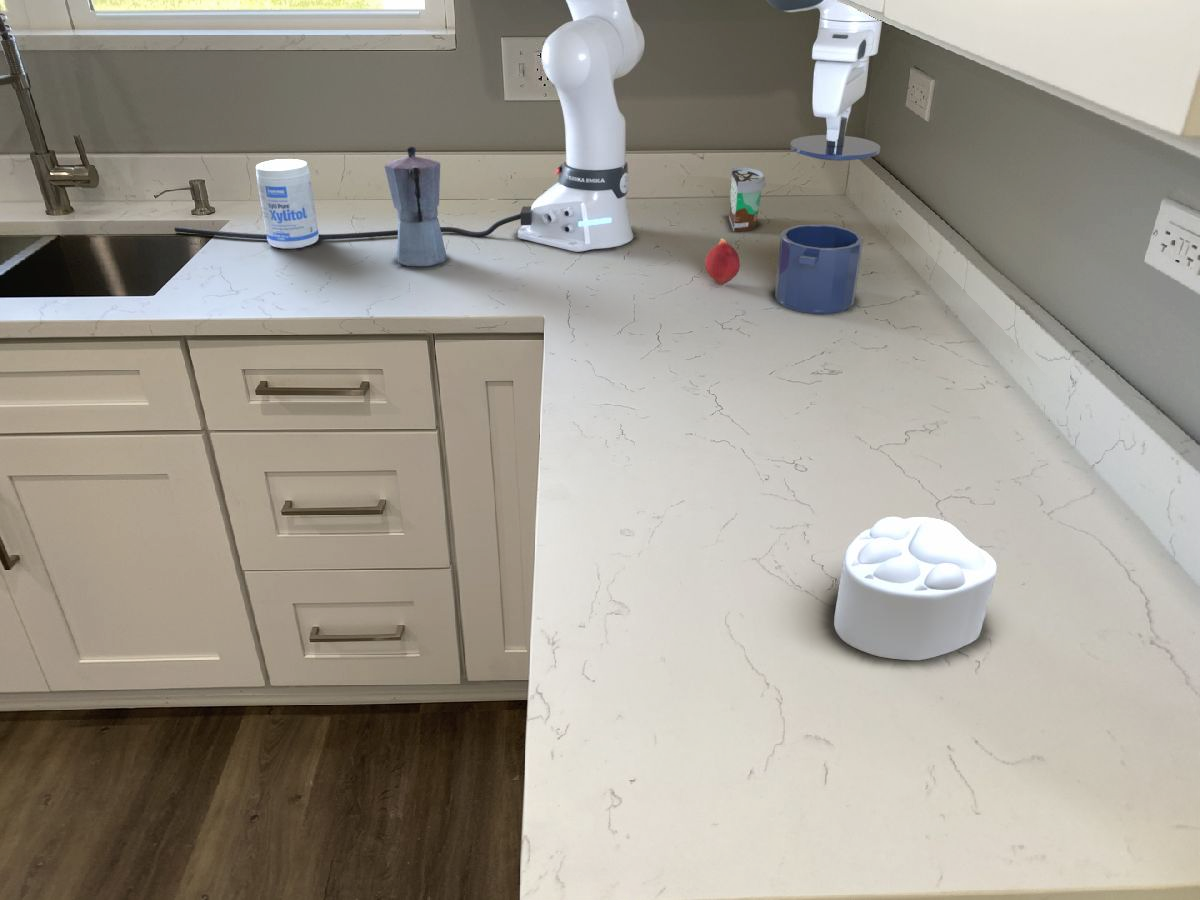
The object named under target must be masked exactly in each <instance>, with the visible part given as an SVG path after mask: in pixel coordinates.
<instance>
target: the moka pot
mask: <svg viewBox="0 0 1200 900" xmlns="http://www.w3.org/2000/svg"><path fill="white" fill-rule="evenodd" d="M406 151H407V155H408V156H404V157H401V158H396V159H392V160H391V161H389V162H386V163H385V164H384V170H385V175H386V179H387V183H388V187H389V188H388V189H389V191H390V195H391V200H392V203H393V208H394V209H396V216H397V219H398V220H397V230H398V235H397V245H396V247H397V249H396V250H397V251H396V252H397V253H396V259H397V262H398V263H399V264H400V265H403V266H408V267H430V266H435V265H438V264H440V263H443V262H445V261H446V260H447V252H446V248H445V243H444V239H443V234H442V233H443V232H441V229H440V227H441V225H440V221H439V218H438V215H439V212H438V211H439V210H438V208H439V205H440V189H441V183H440V182H441V162H440V161H437V160H434V159H431V158H427V157H422V156H416V151H417V149H416V147H414V146H409V147H407V148H406Z"/></svg>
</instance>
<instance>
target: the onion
mask: <svg viewBox="0 0 1200 900" xmlns="http://www.w3.org/2000/svg"><path fill="white" fill-rule="evenodd" d="M706 254H707V255H706V257H705V261H704V267H705V271H706V273H707V274H708V276H709V277H710V278H711V279H712V280H713V281H714V282H715V283H716V284H717V285H720V286H722V285H725V284H726V283H729V282H730V281H731V280H733V279H734V278H735V277H736V276H737V275H738V273H739V271H740V267H741V264H740V263H741V261H740V259H741V258H740V256H739V253H738V252H737V250H736V249H735V248H734V247H733V246H732V245H731V244H729V242H727V241H726V239H725V238H723V237H722V238H720V239H719V243H718V244H716V245H715V246H713V247H712V248H711V249H710V250H709V251H708V252H707V253H706Z"/></svg>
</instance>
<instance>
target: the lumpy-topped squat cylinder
mask: <svg viewBox="0 0 1200 900" xmlns="http://www.w3.org/2000/svg"><path fill="white" fill-rule="evenodd" d="M841 567H842V568H841V575H840V579H839V586H838V590H837V591H838V592H837V598H836V604H835V611H834V618H833V627H834V629H835V632H836V634H837V635H838V637H839V638H840V639H841V640H842V641H843V642H845V643H846V644H847V645H849V646H850V647H852V648H854V649H856V650H858V651H861V652H864V653H867V654H869V655H872V656H876V657H879V658H885V659H892V660H902V661H923V660H928V659H933V658H936V657H940V656H943V655H946V654H949V653H952V652H955V651H957V650H959V649H962V648H964V647H965V646H966V647H967V646H968V645H970V644H972V643H974V642H975V641H976V640H977V639H978V638H979V637H980V635H981V632H982V628H983V626H984V625H983V624H984V621H985V617H986V614H987V611H988V607H989V603H990V600H991V595H992V591H993V588H994V583H995V579H996V576H997V572H998V566H997V562H996V560H995V559H994V557H993V556H992V555H991V554H989V553H988V552H987V551H986V550H984V549H982V548H981V547H980V546H977V545H976V544H974V542H972V541H970V540H969V539H968V538H966V536H964V535H963V533H962V532H961V531H960V530H959V529H958V528H957V527H956V526H954V525H953V524H952V523H950V522H948V521H946V520H943V519H939V518H934V517H929V516H928V517H927V516H915V517H908V518H901V517H899V516H886V517H884V518H883V517H882V518H881V519H879V520H878V521H876V522H875V523H874V525H873V526H872V527H870V528H868V529H865V530H863V531H862V532H860V533H859V535H857V536H856V537H855V538H854V539H853V540H852V541H851V543H850V544H849V545H848V546H847V548H846V550H845V553H844V557H843V562H842V566H841Z"/></svg>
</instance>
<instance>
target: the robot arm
mask: <svg viewBox="0 0 1200 900" xmlns="http://www.w3.org/2000/svg"><path fill="white" fill-rule="evenodd" d="M565 2H566V4H567V6H568V9H569V12H570V14H571V18H572V20H571V21H568V22H565V23H563V24H562V25H561V26H559V27H558V28H557V29H555V30H554V31H553V32H551V34H550V35H548V36H547V38H546V40H545V41H544V43H543V45H542V48H541V65H542V69H543V72H544V73H545V76H546V77H547V78H548V80H549V81H550V82H551V83H552V84H553V85H554V88H555V90H556V92H557V95H558V98H559V102H560V106H561V110H562V115H563V122H564V133H565V135H564V136H565V137H564V138H565V160H564V162H563V163H561V164H559V165H558V167H556V168H554V169H553V171H554V173H553V175H554V176H557V175H558V180H557V182H556V183H555V184H553V185H552V186H551V187H550V188H548V189H547V190H545V191H544V192H543V193H542V194H541V195H540V196H538V197H537V198H536V199H535V200H534V202H533V203H532V204H531V206H526V205H525V206H524V205H523V206H522V207H521V211H520V213H517V214H515V215H512V216H511V215H510V216H508V217H505V218H502V219H500V220H498V221H496V222H495V223H494V224H492V225H491V226H490V227H489V228H487V229H485V230H482V231H472V230H467V229H463V228H459V227H452V226H440V229H441V233H455V234H459V235H463V236H468V237H473V238H483V237H487V236H489V235H491V234H492V233H493V232H495V230H497V229H498V228H500V227H501V226H503V225H505V224H508V223H512V222H515V221H518V220H520V228H519V229H518V231H517V237H518V239H520V240H524V241H529V242H533V243H538V244H540V245H541V244H542V245H545V246H550V247H554V248H557V249H562V250H566V251H570V252H576V253H577V252H579V253H580V252H585V251H586V252H587V251H590V250H601V249H610V248H615V247H620V246H623V245H625V244H628V243H629V242H631V241H632V240H633V239H634V233H633V230H632V226H631V221H630V216H629V208H628V199H627V194H628V187H629V165H628V162H627V161H626V157H627V156H626V155H627V153H626V152H627V151H626V149H627V148H626V147H627V146H626V145H627V142H626V141H627V122H626V117H625V116H624V114H623V113H622V112H621V110H620V108H619V105H618V103H617V102H618V101H617V97H616V93H615V87H614V86H615V85H614V82H615V80H616V79H620V78H622V77H624V76H626V75H627V74H629V73H630V72H631V71H632V70H633V69H634V68H635V67H636V66H637V65H638V63H639V62H640V61H641V60H642V57H643V55H644V52H645V37H644V32H643V30H642V28H641V26H640V25H639V23H638V22H637V21H636V20H635V18H634V17H633V15H632V12H631V9H630V6H629V3H628V1H627V0H565ZM766 2H767V3H768V4H769V5H770V6H771V7H772V8H774V9H776V10H778V11H782V12H786V13H798V12H805V11H806V12H807V11H810V10H815V9H818V11H819V14H820V15H819V21H818V22H819V24H818V30H817V37H816V40H815V41H814V43H813V45H812V51H811V59H812V60H814V61H815V60H816V61H815V64H814V68H813V79H812V80H813V81H812V99H811V100H812V113H813V116H814V117H817V118H825V121H826V122H825V123H826V134H825V135H826V139H827V140H828V141H837V140H838V139H839V138H840V132H841V128H840V124H841V118H842V117H846V118H847V122H848V121H849V117H850V115H851V112H852V106H853V105H854V104H855V103H856V102H858V101H859V99H861V98H862V97H864V95H865V93H866V88H867V81H868V72H869V62H870V57H871V56H875V55H877V54H878V52H879V47H880V46H879V45H880V38H881V32H882V25H883V20H882V21H880V20H877V19H875V18H873V17H871V16H869V15H867V14H865V13H863V12H860V11H858V10H857V9H855V8H853V7H851V6H849V5H846V4H843V3H840V2H838V1H837V0H766ZM847 125H848V123H847V124H846V127H847ZM846 132H847V130H846V131H845V133H846ZM174 231H175V232H176V233H186V234H196V235H204V236H205V235H206V236H214V237H215V236H216V237H224V238H225V237H226V238H237V239H251V240H252V239H253V240H267V234H266V233H249V232H248V233H247V232H237V231H235V232H234V231H226V230H225V231H224V230H214V229H213V230H212V229H203V228H194V227H183V226H182V227H181V226H175V227H174ZM391 236H392V237H393V236H398V229H395V230H384V231H383V230H380V231H363V232H350V233H348V232H347V233H346V232H345V233H328V234H327V233H326V234H325V233H324V234H319V238H318V240H317V241H324V240H341V239H342V240H345V239H346V240H347V239H363V238H365V239H366V238H379V237H391Z"/></svg>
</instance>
